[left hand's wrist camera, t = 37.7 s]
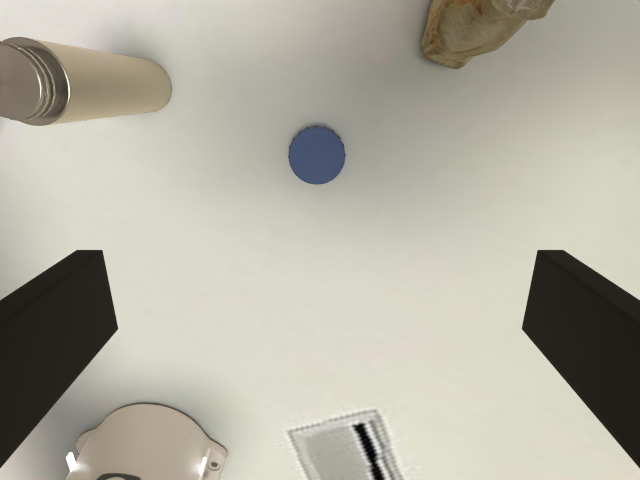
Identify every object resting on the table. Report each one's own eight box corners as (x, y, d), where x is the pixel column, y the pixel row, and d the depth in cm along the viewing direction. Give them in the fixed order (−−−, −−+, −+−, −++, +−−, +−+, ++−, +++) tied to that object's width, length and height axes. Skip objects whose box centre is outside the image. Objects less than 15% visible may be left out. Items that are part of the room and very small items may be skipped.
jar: (180, 101, 38) (68, 110, 21) (137, 119, 38) (-5, 141, 21) (156, 51, 36) (16, 17, 19) (112, 70, 37) (-61, 53, 20)
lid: (303, 115, 38) (302, 117, 36) (353, 140, 39) (355, 142, 37) (281, 166, 40) (279, 170, 38) (329, 189, 40) (330, 194, 39)
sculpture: (498, -8, 34) (622, -75, 20) (458, 78, 37) (544, 70, 23) (437, -37, 34) (521, -128, 20) (400, 52, 36) (451, 28, 22)
